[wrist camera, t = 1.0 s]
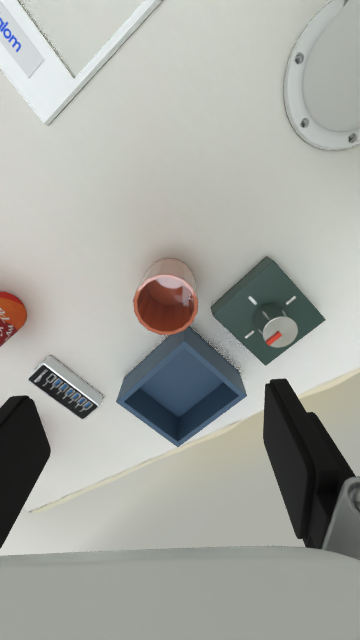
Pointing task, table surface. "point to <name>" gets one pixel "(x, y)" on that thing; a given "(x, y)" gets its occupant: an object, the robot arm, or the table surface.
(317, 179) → the table surface
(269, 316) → the rotary dial knob
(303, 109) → the robot arm
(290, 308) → the green dial base
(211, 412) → the basin
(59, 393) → the multiport hub
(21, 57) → the photo frame
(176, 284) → the cup
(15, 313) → the coffee cup
